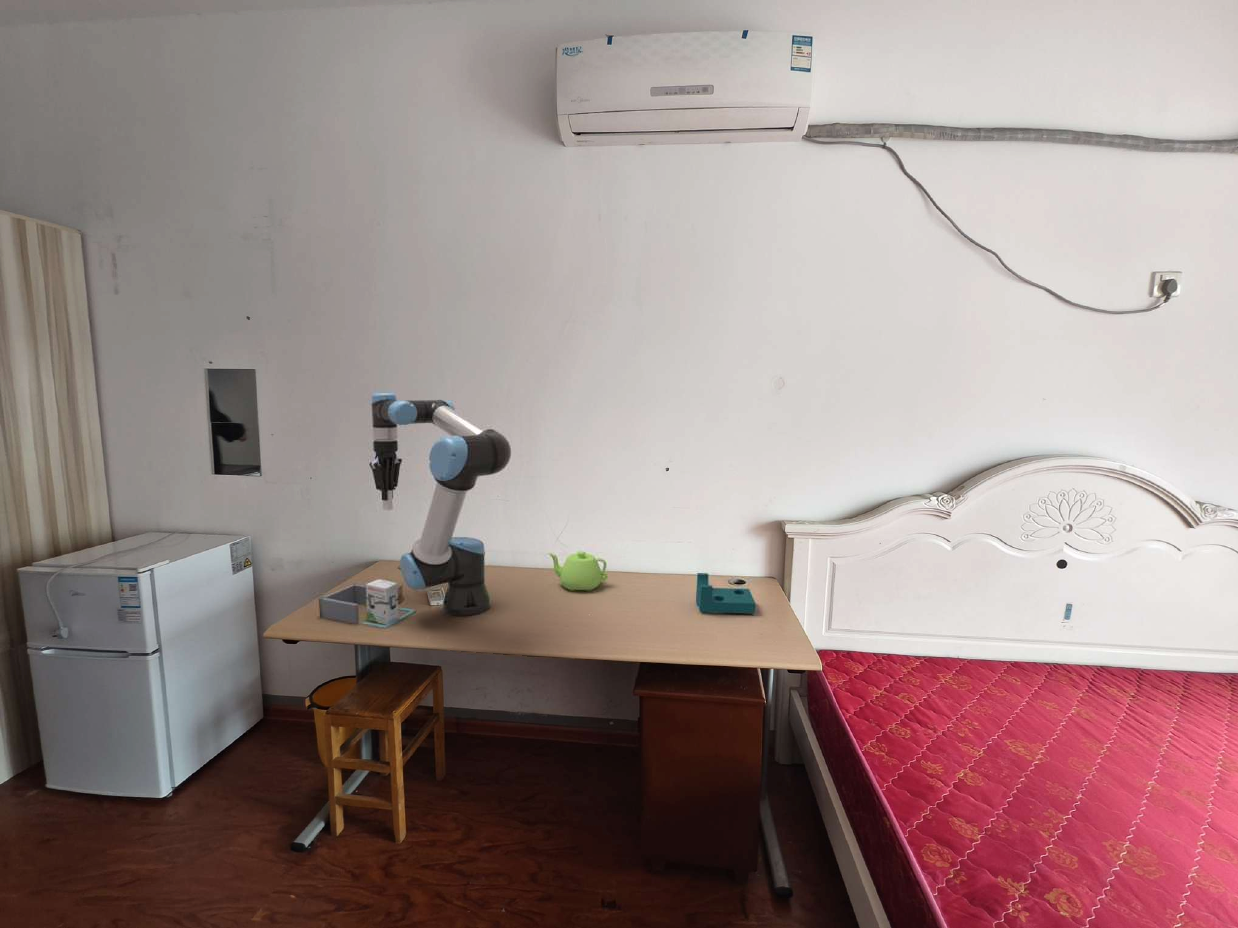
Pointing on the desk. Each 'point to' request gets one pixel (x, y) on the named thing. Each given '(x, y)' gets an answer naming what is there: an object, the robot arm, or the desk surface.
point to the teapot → (580, 571)
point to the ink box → (382, 601)
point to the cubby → (343, 604)
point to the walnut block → (400, 592)
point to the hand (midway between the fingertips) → (387, 509)
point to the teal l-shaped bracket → (722, 598)
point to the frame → (392, 621)
